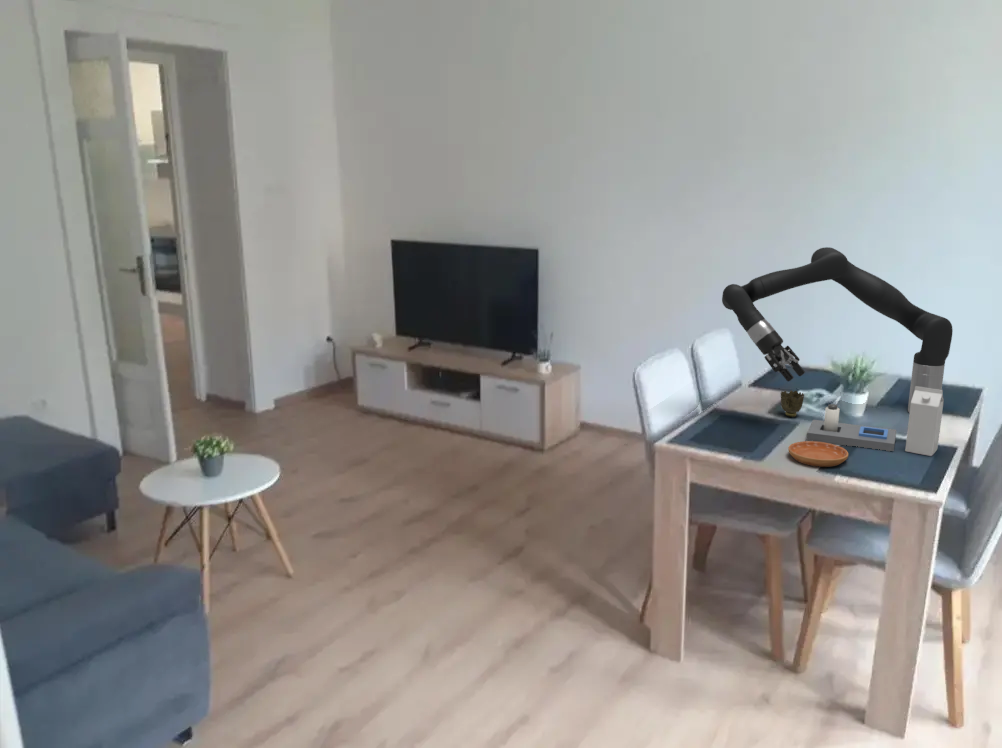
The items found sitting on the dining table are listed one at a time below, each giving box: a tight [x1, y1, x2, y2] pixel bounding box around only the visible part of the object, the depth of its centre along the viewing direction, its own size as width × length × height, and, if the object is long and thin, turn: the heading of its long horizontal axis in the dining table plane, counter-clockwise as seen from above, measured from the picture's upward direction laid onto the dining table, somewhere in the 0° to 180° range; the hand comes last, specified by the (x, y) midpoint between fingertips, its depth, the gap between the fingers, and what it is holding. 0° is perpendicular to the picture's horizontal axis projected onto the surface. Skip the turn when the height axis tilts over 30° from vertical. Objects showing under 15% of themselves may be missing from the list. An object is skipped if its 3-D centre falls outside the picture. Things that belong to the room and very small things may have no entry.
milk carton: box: [904, 386, 945, 457], centre depth 229 cm, size 7×7×19 cm
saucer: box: [787, 440, 849, 468], centre depth 226 cm, size 16×16×3 cm
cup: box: [780, 389, 805, 418], centre depth 264 cm, size 8×7×8 cm
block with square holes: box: [805, 419, 897, 452], centre depth 242 cm, size 14×24×3 cm, turn 62°
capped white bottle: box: [823, 403, 841, 432], centre depth 243 cm, size 4×4×10 cm
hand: (796, 377), depth 248 cm, fingers open, 8 cm apart
